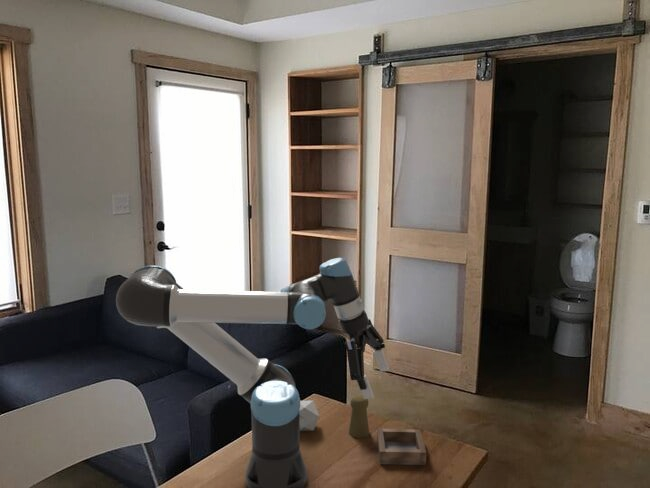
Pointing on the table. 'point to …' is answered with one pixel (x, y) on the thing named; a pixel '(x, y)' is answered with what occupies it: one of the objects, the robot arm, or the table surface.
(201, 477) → the table surface
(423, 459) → the wooden tray
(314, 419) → the die
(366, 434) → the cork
